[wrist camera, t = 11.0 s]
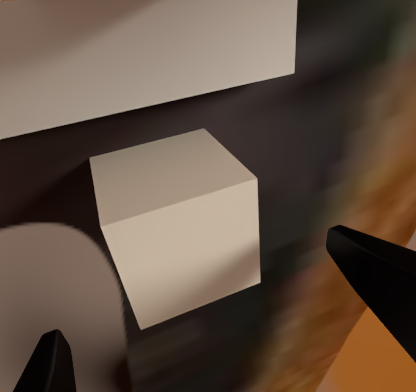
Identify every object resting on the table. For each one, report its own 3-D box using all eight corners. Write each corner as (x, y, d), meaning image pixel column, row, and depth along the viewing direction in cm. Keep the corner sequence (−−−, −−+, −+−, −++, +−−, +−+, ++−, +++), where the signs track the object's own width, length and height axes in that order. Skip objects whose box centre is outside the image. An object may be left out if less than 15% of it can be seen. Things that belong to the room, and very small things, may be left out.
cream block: (203, 127, 14) (257, 178, 10) (214, 216, 17) (260, 282, 13) (89, 157, 13) (100, 226, 9) (121, 246, 16) (140, 330, 12)
